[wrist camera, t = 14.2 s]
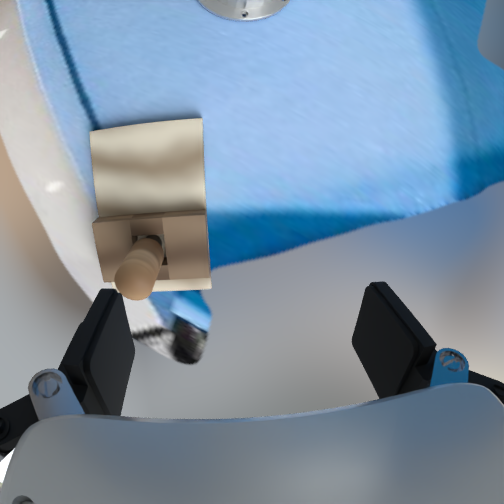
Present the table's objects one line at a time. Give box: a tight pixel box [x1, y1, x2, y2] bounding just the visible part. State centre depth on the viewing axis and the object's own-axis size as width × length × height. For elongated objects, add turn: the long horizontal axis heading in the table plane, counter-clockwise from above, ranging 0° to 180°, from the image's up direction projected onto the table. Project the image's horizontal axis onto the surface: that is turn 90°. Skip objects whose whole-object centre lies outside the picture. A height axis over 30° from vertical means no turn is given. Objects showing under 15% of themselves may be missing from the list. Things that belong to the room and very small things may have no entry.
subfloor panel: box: [90, 118, 212, 293], centre depth 35 cm, size 22×14×4 cm, turn 1°
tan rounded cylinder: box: [114, 235, 164, 300], centre depth 33 cm, size 4×4×10 cm
